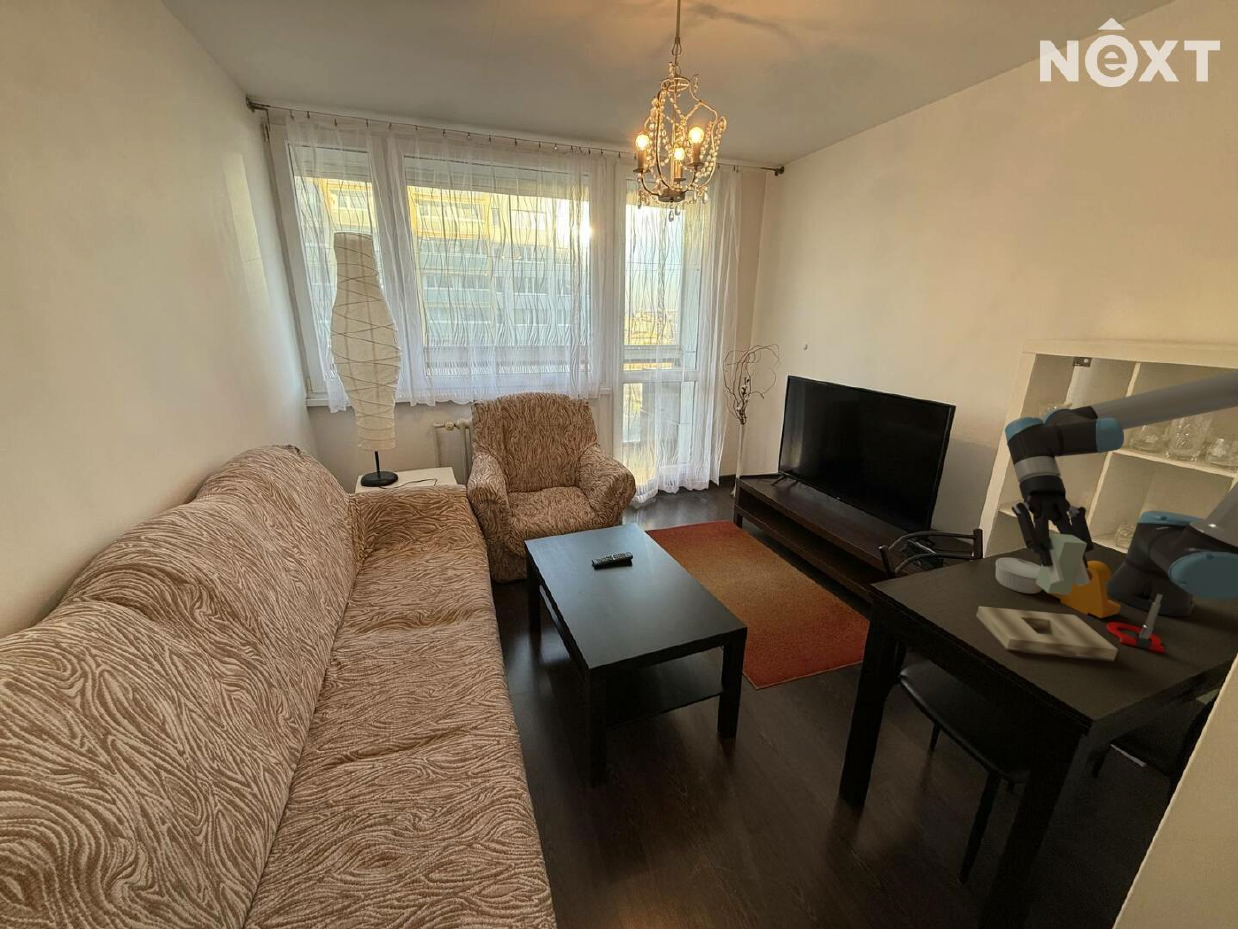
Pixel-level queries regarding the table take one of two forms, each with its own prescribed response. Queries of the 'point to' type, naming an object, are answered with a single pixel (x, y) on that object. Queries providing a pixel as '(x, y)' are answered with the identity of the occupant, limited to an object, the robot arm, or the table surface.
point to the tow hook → (1141, 630)
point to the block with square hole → (1045, 634)
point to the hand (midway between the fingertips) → (1070, 583)
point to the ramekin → (1018, 575)
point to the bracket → (1092, 593)
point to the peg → (1063, 563)
